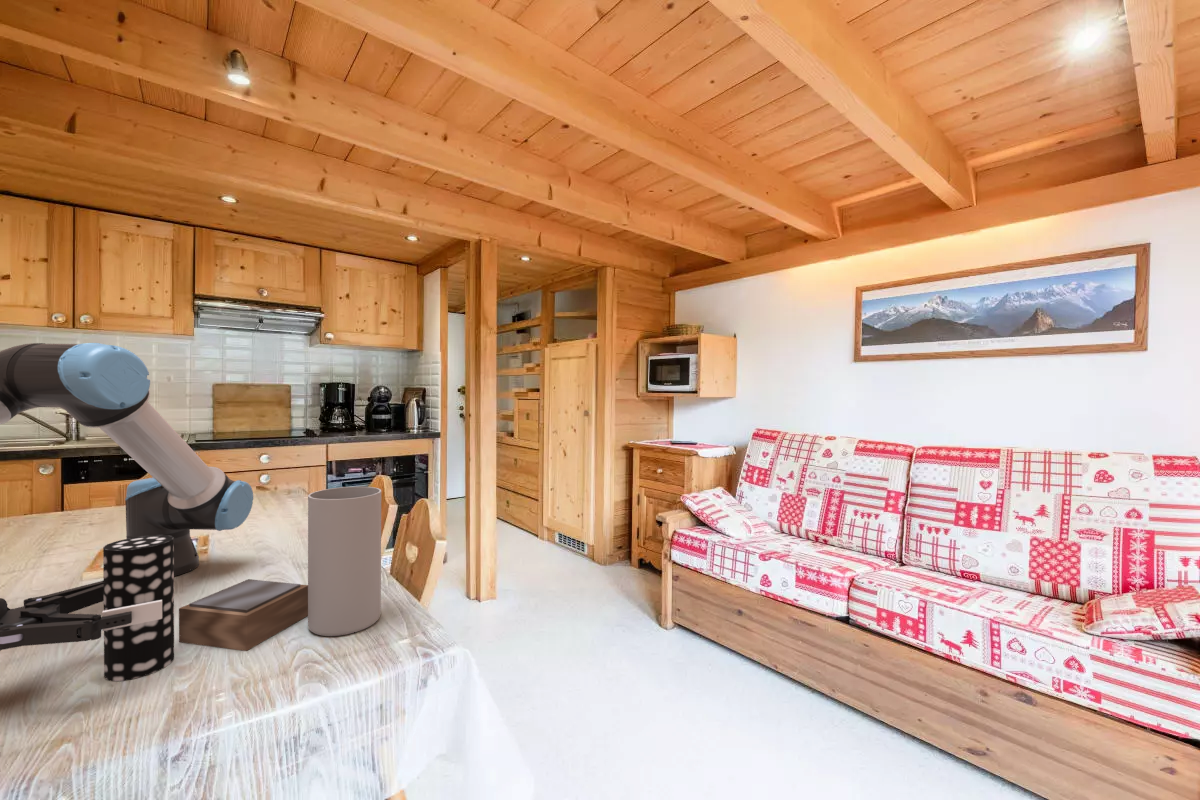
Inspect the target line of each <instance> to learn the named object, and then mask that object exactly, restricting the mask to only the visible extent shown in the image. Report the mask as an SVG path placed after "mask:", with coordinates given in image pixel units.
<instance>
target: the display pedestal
mask: <svg viewBox="0 0 1200 800" xmlns="http://www.w3.org/2000/svg"><path fill="white" fill-rule="evenodd" d="M305 618H308V584H300V583H291V582H281V581H271V580H262V579H250V578H249V579H245V580H243V581H241V582H238V583H236V584H233V585H231V586H229V587H227V588H224V589H222V590H219V591H217V592H214V593H212V594H209V595H207V596H204V597H202V598H200V599H198V600H194V601H192V602H190V603H188V604H186V605H184V606H181V607H179V608H178V642H179V643H183V644H191V645H198V646H205V647H215V648H220V649H221V648H222V649H229V650H238V651H244V652H245V651H246V652H247V651H249V650H251V649H252V648H254V647H256V646H258V645H259V644H262V643H263V642H265V641H267V640H268V639H270V638H271V637H273V636H275V635H277V634H279V633H281V632H282V631H284V630H286V629H288V628H289V627H292V626H293V625H294V624H296V623H298V622H300V621H302V620H303V619H305Z"/></svg>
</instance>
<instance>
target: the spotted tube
mask: <svg viewBox="0 0 1200 800" xmlns="http://www.w3.org/2000/svg"><path fill="white" fill-rule="evenodd" d="M102 552H103V555H102V556H103V557H102V559H103V566H102V567H103V570H102V571H103V575H102V576H103V580H104V601H103V611H105V610H110V609H115V608H121V607H126V606H131V605H136V604H142V603H147V602H152V601H158V600H162V619H159V620H154V621H149V622H145V623H140V624H135V625H130V626H125V627H120V628H116V629H111V630H106V631H103V677H104V679H105V680H107V681H110V680H111V681H110V682H121V681H129V680H134V679H138V678H142V677H146V676H149V675H151V674H154V673H156V672H159V671H160V670H162V669H164V668H166V667H168V666H169V665H170V664H172V662H173V661H174V660H175V579H174V578H175V576H174V538H173V537H172V536H169V535H151V536H141V537H134V538H129V539H120V540H116V541H113V542H110V543H107V544H105V545H104V546H103V551H102Z"/></svg>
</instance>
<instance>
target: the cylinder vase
mask: <svg viewBox="0 0 1200 800" xmlns="http://www.w3.org/2000/svg"><path fill="white" fill-rule="evenodd" d="M307 585H308V616H307V627H308V629H309V631H310V632H311V633H313V634H315V635H319V636H322V637H324V636H325V637H336V636H344V635H350V634H354V632H355V633H357V632H360V631H363V630H366V629H367V628H369V627H371V626H373V625H374V624H375V623H376V622H377V621H378V620H379V619H380V617H381V615H382V614H381V613H382V603H381V602H382V489H381V488H378V487H374V486H341V487H335V488H334V487H333V488H332V487H331V488H327V489H321V490H317V491H313V492H311V493H308V495H307Z"/></svg>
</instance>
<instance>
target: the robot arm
mask: <svg viewBox="0 0 1200 800" xmlns="http://www.w3.org/2000/svg"><path fill="white" fill-rule="evenodd" d="M149 375H150V372H149V370H148V368H147V365H146V364H145V362H144V361H143V360H142V359H141V358H140V357H139V356H138V355H136V354H135V353H134V352H133V351H130V350H129V349H127V348H125V347H121V346H119V345H114V344H105V343H98V342H86V343H84V342H83V343H43V342H41V343H40V342H35V343H24V344H19V345H16V346H15V345H14V346H12V347H8V348H5V349H3V350H0V425H3V424H6V423H8V422H10V420H11V419H13V418H14V417H16V416H17V415H19V414H21V413H23V412H26V411H29V410H33V409H37V408H54V409H55V408H56V409H58V408H60V409H63V410H64V411H65V412H66V413H67V414H69V415H70V416H71V417H72V418H73V419H74V420H76V422H78V424H80V425H81V426H83V427H85V428H91V429H92V428H94V429H95V428H96V429H97V428H98V429H100V430H101V431H102V432H104V433H105V435H106V436H108V438H110V439H111V440H112V441H113V442H114V443H115V444H116V445H118V446H119V447H120V448H121V449H122V450H123V451H124V452H125V453H126V454H127V455H128V456H129V457H131V459H133V460H134V461H135V462H136V463H137V464H138V465H139V466H140V467H141V468H142V469H143V470H145V471H146V472H147V473H148V474H149V475H150V476H151V477H148V478H142V479H137V480H134V481H132V482H130V483H129V484H128V485H127V487H126V494H125V498H124V501H125V524H126V525H125V529H126V532H125V533H126V539H129V538H134V537H141V536H151V535H169V536H172V537H173V538H174V577H176V576H180V575H183V574H185V573H189V572H191V571H193V570H195V569H196V568H198V567H199V565H200V557H199V553H198V551H197V549H196V547H195V544H194V542H193V539H192V538H191V533H190V532H191V530H201V531H202V530H203V531H205V530H207V531H209V530H210V531H212V530H213V531H218V532H221V531H228V530H234V529H236V528H239V527H240V526H241V525H242V524H243V523H244V522H245V521H246V520H247V518H248V517H249V515H250V514H251V510H252V507H253V503H254V502H253V500H254V491H253V488H252V485H250V484H249V482H247V481H244V480H243V481H242V480H240V479H237V480H232V479H230V477H229V476H228V475H227V474H226V473H225V472H224V471H223V470H222V469H221V468H219V467H216V466H208V465H207V464H206V462H204V461H203V460H202V458H201V457H200V456H199V455H198V454H197V453H196V452H195V450H193V449H192V448H191V447H190V445H189V444H188V443H187V442H186V441H185V440H184V439H183V437H181V436H180V434H179V433H178V432H177V431H176V430H175V429H174V428H173V427H172V426H171V425H170V423H168V422H167V420H166V419H165V418H164V417H163V416H162V415H161V414H160V413H159V412H158V411H157V409H155V408H154V407H153V405H151V403H149V399H150V397H151V391H150V388H151V380H150V379H148V376H149ZM102 602H104V579H103V580H100V581H97V582H92V583H88V584H85V585H81V586H76V587H73V588H70V589H65V590H61V591H58V592H53V593H49V594H45V595H40V596H35V597H28V598H25V599H24V600H23V606H18V607H15V608H10V607H9V606H8V602H7V601H6V599H5V598H2V597H0V652H1V651H2V650H8V649H14V648H20V647H28V646H40V645H52V644H53V645H54V644H55V645H56V644H67V643H78V642H79V643H80V642H88V641H95V640H99V639H101V638H102V632H104V631H106V630H111V629H116V628H120V627H125V626H130V625H135V624H140V623H145V622H149V621H154V620H159V619H162V600H158V601H152V602H147V603H142V604H136V605H131V606H126V607H121V608H115V609H110V610H105V611H104V610H102V612H101V614H97V613H94V614H93V613H92V614H91V613H90V614H89V613H74V612H77V611H79V610H83V609H85V608H88V607H91V606H93V605H96V604H100V603H102Z"/></svg>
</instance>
